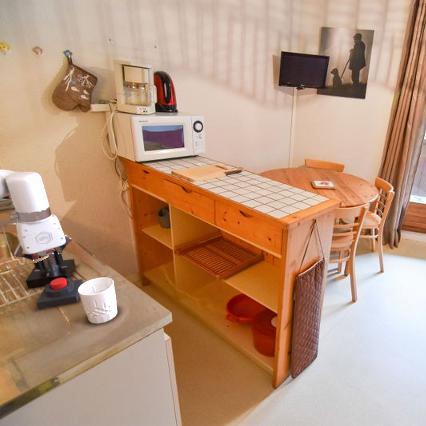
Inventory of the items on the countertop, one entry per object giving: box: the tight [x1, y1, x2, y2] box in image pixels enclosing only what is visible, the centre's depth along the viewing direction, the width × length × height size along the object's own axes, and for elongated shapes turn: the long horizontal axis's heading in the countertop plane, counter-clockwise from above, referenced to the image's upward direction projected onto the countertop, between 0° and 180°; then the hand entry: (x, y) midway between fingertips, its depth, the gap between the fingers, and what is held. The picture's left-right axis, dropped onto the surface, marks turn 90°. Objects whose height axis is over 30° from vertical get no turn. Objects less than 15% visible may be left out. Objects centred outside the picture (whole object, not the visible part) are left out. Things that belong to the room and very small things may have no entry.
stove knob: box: [38, 248, 59, 272], centre depth 100 cm, size 4×4×6 cm
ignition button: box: [50, 278, 67, 290], centre depth 92 cm, size 4×4×2 cm
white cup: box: [78, 276, 118, 325], centre depth 86 cm, size 8×8×10 cm
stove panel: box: [25, 258, 76, 290], centre depth 101 cm, size 10×10×3 cm
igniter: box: [36, 278, 84, 310], centre depth 93 cm, size 9×9×4 cm
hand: (50, 266), depth 100 cm, fingers closed on stove knob, 4 cm apart
